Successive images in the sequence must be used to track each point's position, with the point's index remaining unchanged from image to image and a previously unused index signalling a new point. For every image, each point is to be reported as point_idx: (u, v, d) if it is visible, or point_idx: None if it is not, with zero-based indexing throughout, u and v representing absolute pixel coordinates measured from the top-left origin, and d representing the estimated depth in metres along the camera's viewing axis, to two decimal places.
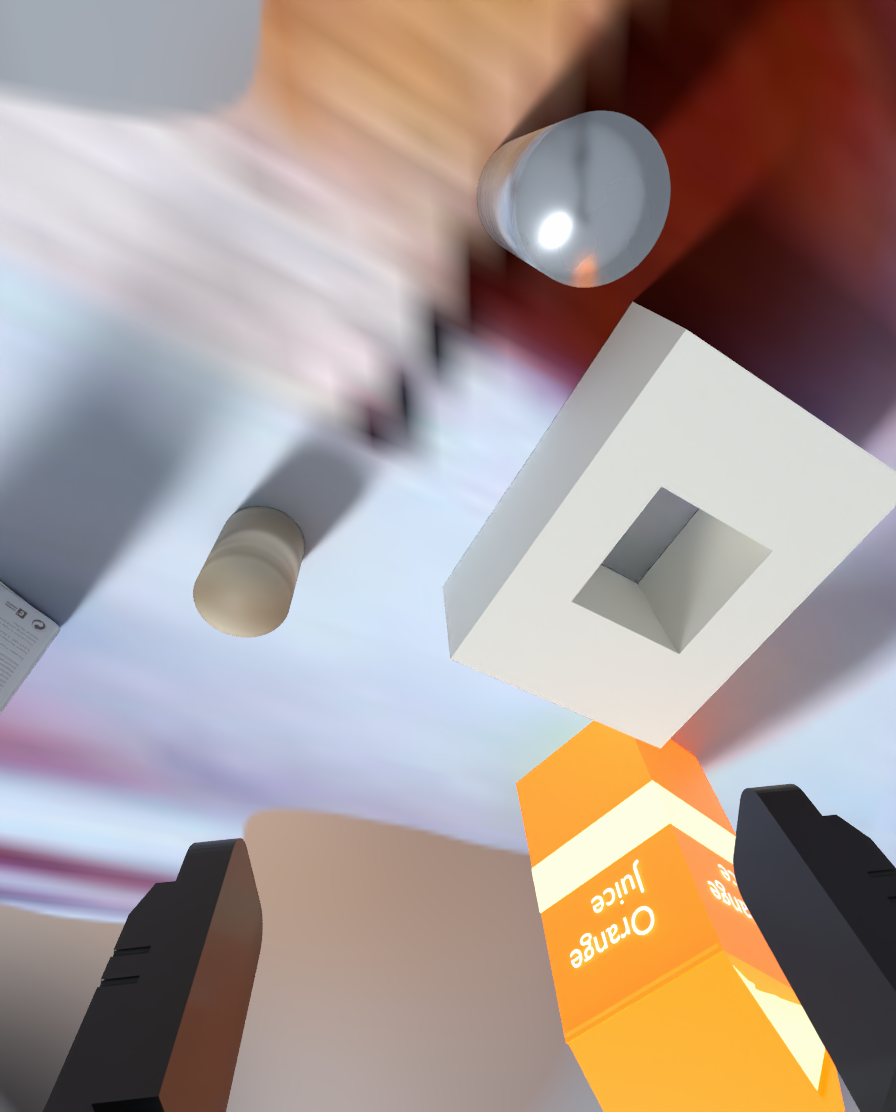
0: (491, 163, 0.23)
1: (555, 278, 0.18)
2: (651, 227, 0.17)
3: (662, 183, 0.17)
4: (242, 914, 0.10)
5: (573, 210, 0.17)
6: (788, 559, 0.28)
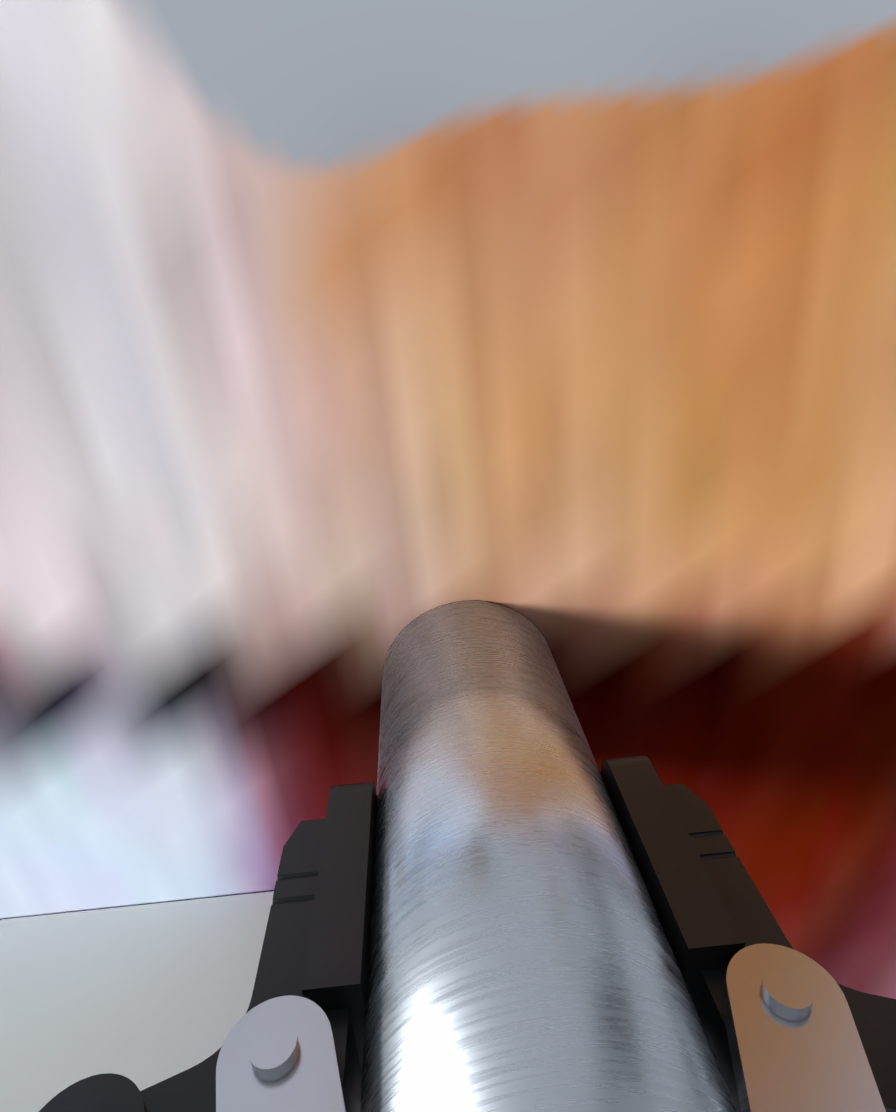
0: (475, 643, 0.13)
1: None
2: None
3: None
4: None
5: None
6: None
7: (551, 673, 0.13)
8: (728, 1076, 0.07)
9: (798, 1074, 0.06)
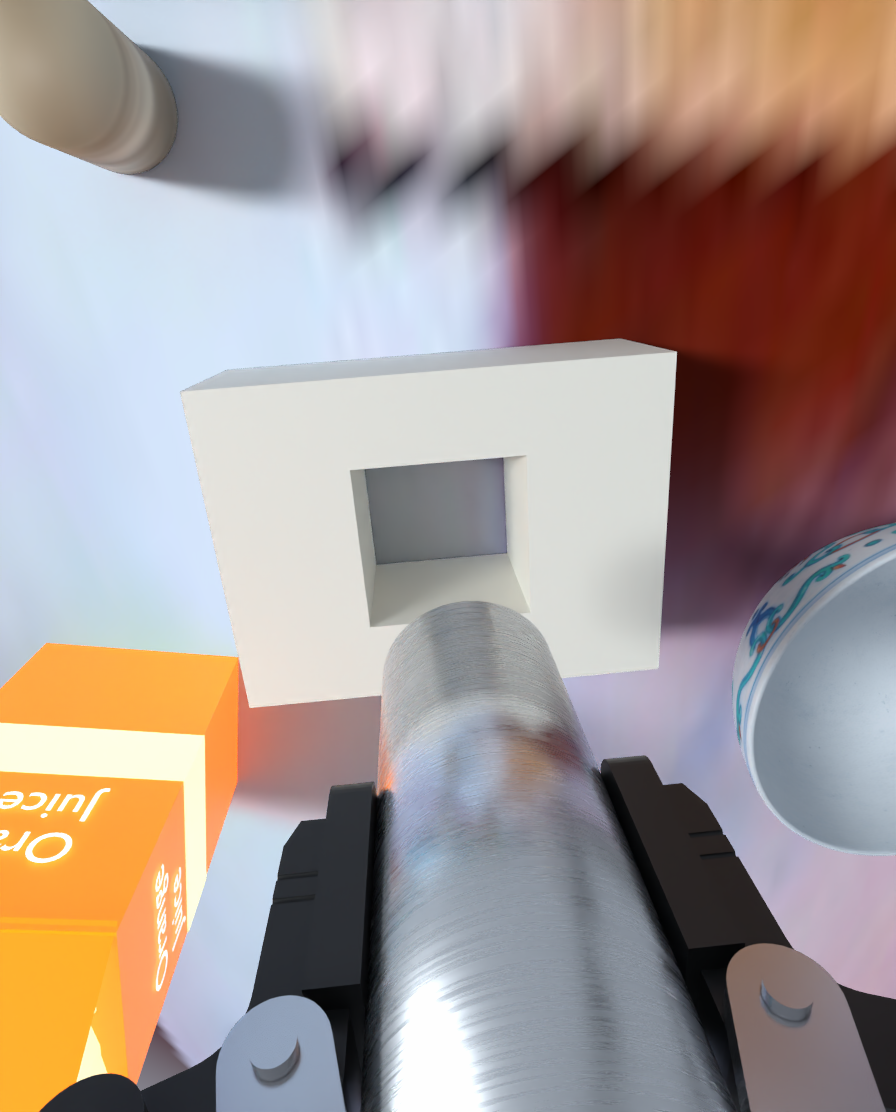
0: (475, 644, 0.13)
1: None
2: None
3: None
4: None
5: None
6: None
7: (551, 674, 0.13)
8: (728, 1076, 0.07)
9: (798, 1074, 0.06)
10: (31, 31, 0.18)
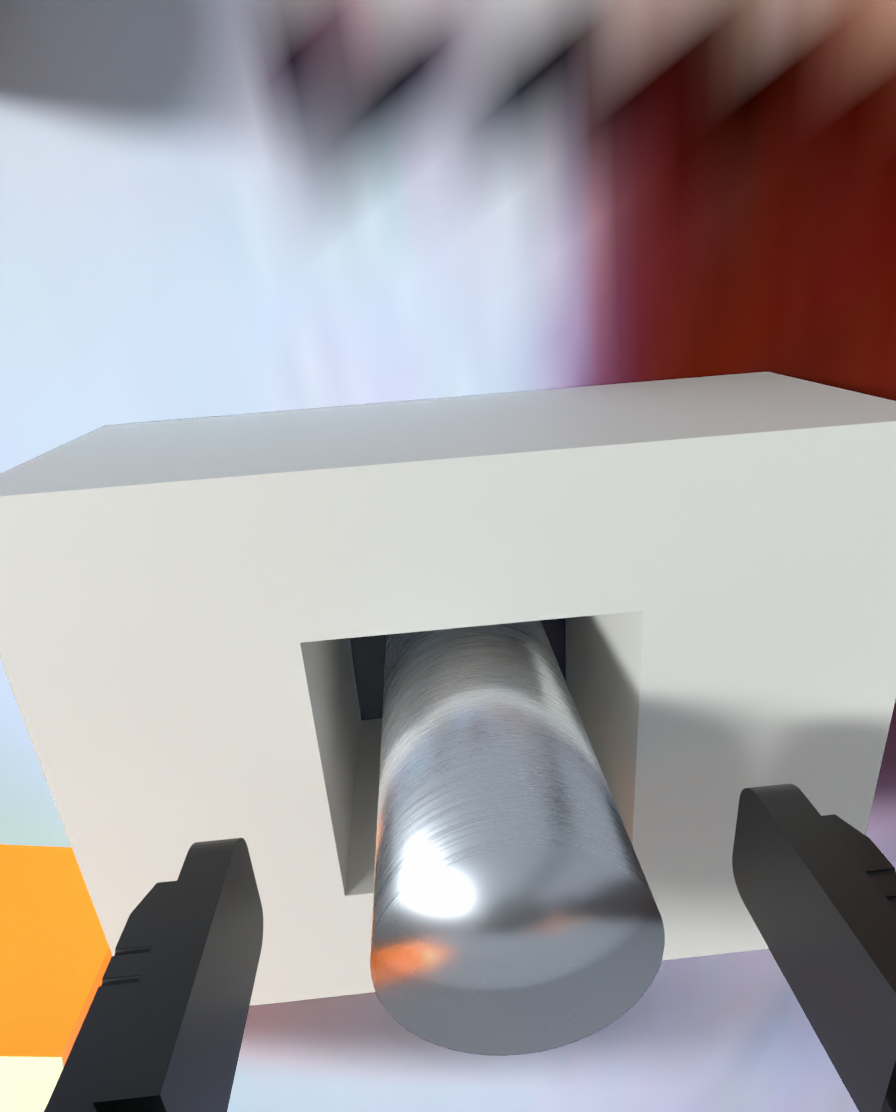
0: None
1: (375, 984, 0.09)
2: (545, 1036, 0.10)
3: (610, 1011, 0.09)
4: (243, 914, 0.10)
5: (489, 943, 0.09)
6: None
7: None
8: None
9: None
10: None
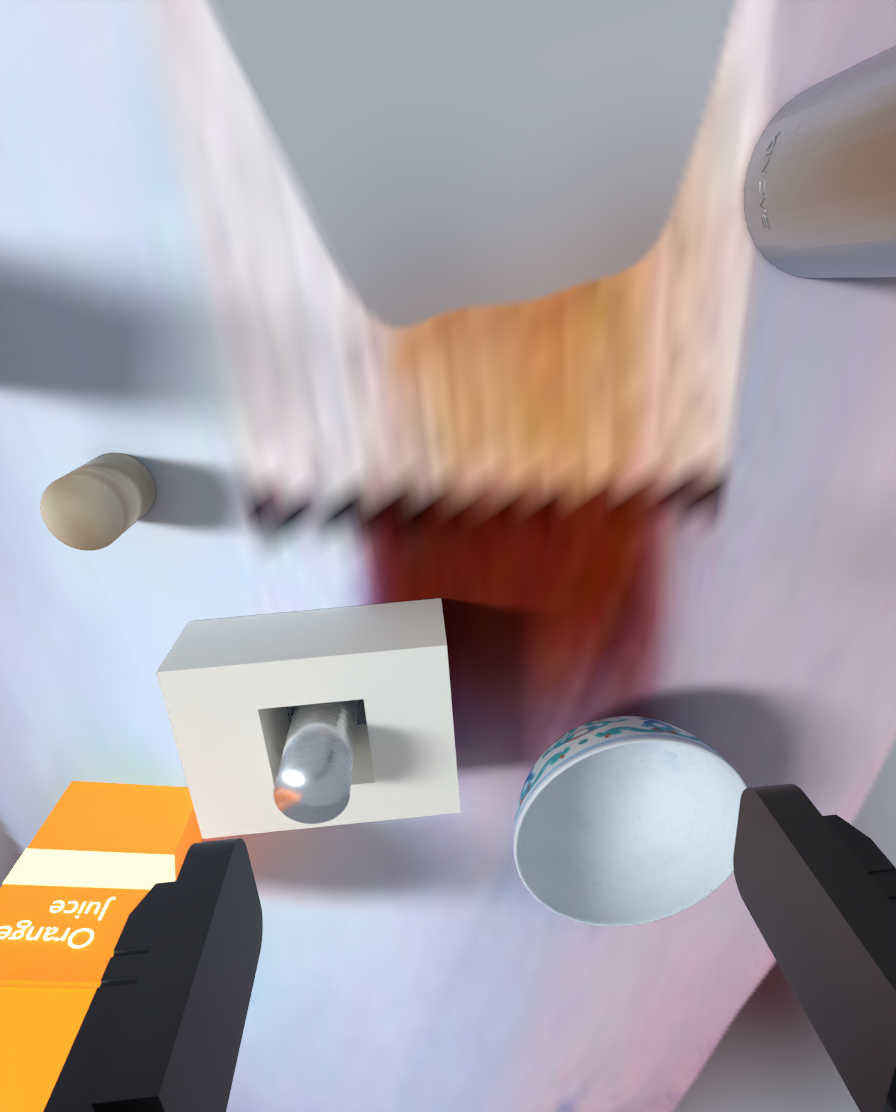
0: None
1: (275, 801, 0.35)
2: (322, 818, 0.36)
3: (339, 810, 0.36)
4: (242, 915, 0.10)
5: (303, 790, 0.35)
6: (377, 794, 0.40)
7: None
8: None
9: None
10: (73, 500, 0.33)
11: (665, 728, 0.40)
